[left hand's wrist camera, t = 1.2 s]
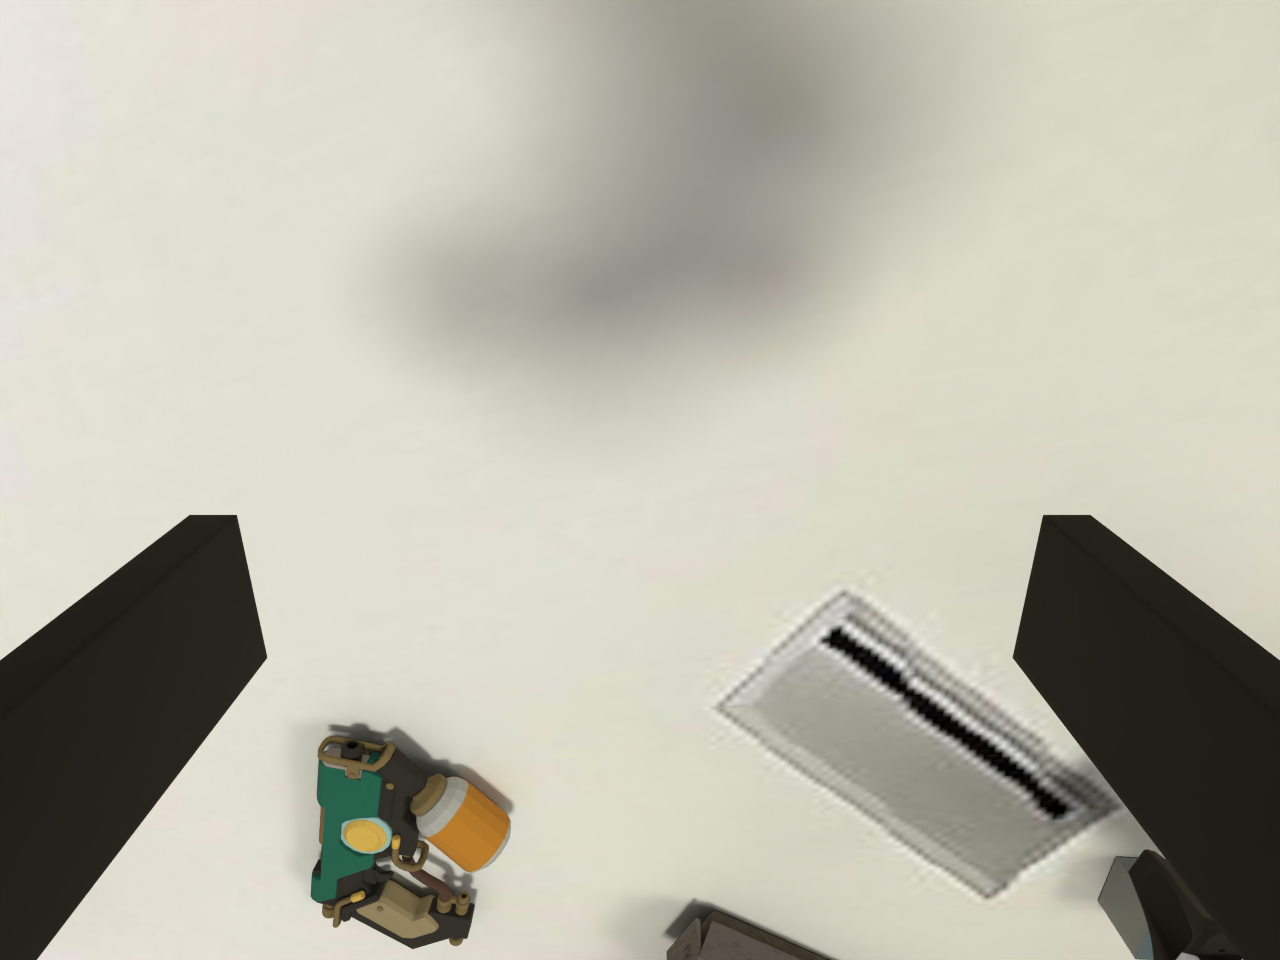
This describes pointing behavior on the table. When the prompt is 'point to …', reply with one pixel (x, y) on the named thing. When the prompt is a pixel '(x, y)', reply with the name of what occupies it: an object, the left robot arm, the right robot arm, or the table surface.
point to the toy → (732, 942)
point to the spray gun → (398, 841)
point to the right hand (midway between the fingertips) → (1195, 876)
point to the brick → (1126, 909)
